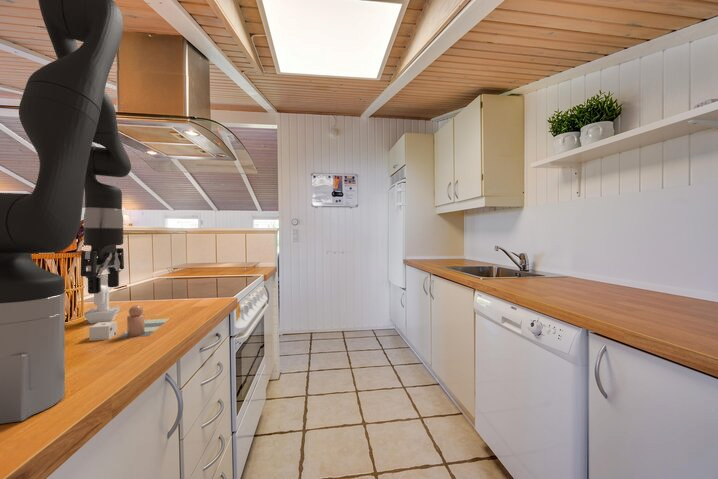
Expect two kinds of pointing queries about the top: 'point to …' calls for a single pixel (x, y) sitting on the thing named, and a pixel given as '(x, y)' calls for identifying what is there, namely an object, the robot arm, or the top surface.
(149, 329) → the board
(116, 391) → the top surface
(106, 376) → the top surface
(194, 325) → the top surface
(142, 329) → the pawn
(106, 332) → the die
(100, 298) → the figurine
